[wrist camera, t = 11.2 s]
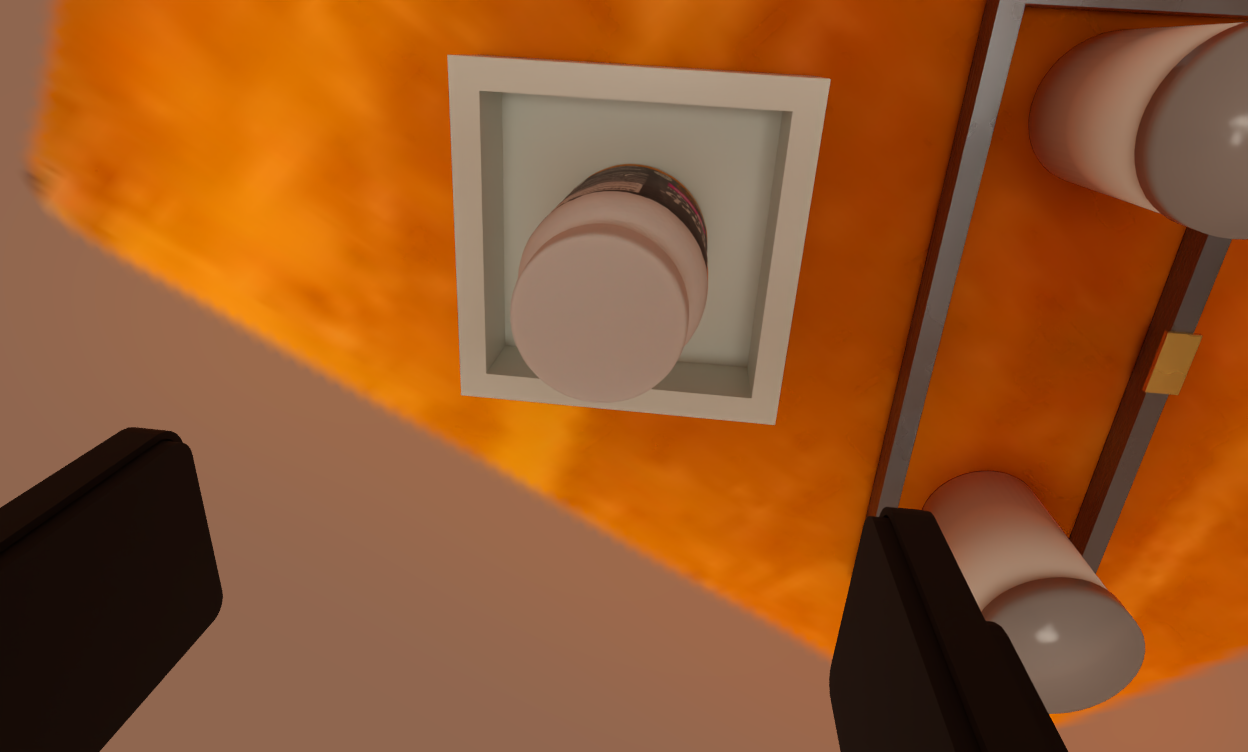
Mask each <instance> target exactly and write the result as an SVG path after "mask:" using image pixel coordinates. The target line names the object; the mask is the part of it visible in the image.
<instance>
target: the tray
mask: <svg viewBox="0 0 1248 752" xmlns="http://www.w3.org/2000/svg"><path fill="white" fill-rule="evenodd" d="M448 79H449V104H450V129H451V153H452V178H453V203H454V227H455V252H456V277H457V301H458V326H459V351H460V375H461V395H466V396H476V397H487V398H497V399H508V400H518V401H529V402H539V403H550V404H560V405H571V406H581V407H592V408H602V409H613V410H623V411H634V412H644V413H655V414H665V415H676V416H686V417H697V418H707V419H718V420H728V421H738V422H749V423H759V424H770V425H775V422H776V416H777V410H778V404H779V397H780V391H781V385H782V379H783V372H784V366H785V360H786V354H787V348H788V341H789V335H790V329H791V323H792V317H793V310H794V304H795V298H796V292H797V286H798V279H799V273H800V267H801V261H802V254H803V248H804V242H805V236H806V230H807V223H808V217H809V211H810V205H811V199H812V192H813V186H814V180H815V174H816V167H817V161H818V155H819V149H820V143H821V136H822V130H823V124H824V118H825V112H826V105H827V99H828V93H829V87H830V81H831V79H828V78H823V77H817V76H807V75H791V74H775V73H760V72H744V71H728V70H712V69H696V68H680V67H664V66H648V65H632V64H617V63H601V62H585V61H569V60H553V59H537V58H521V57H505V56H489V55H448ZM620 164H643V165H647V166H652V167H655V168H658V169H660V170H662V171H665V172H667V173H668V174H670V175H672V176H673V177H674V178H676V179H677V180H679V181H680V182H681V183H682V184H683V185H684V186H685V187H686V188H687V189H688V190H689V191H690V192H691V194H692V195H693V197H694V198H695V200H696V201H697V203H698V205H699V207H700V209H701V211H702V214H703V217H704V221H705V225H706V230H707V256H708V292H707V300H706V305H705V309H704V312H703V315H702V318H701V321H700V323H699V325H698V327H697V329H696V331H695V333H694V334H693V336H692V337H691V339H690V340H689V341H688V343H687V344H686V345H685V346H684V348H683V350H682V353H681V355H680V357H679V359H678V361H677V362H676V364H675V366H674V367H673V368H672V370H671V371H670V372H669V374H668V375H667V376H666V377H665V378H664V379H663V380H662V381H661V382H659V383H658V384H657V385H656V386H654V387H653V388H652V389H650V390H649V391H647V392H645V393H643V394H641V395H639V396H637V397H634V398H631V399H628V400H624V401H619V402H612V403H594V402H586V401H581V400H577V399H574V398H571V397H568V396H566V395H564V394H561V393H560V392H558V391H556V390H554V389H553V388H551V387H550V386H548V385H547V384H545V383H544V382H543V381H542V380H541V379H540V378H539V377H537V376H536V375H535V374H534V372H533V371H532V370H531V369H530V368H529V367H528V365H527V364H526V362H525V361H524V360H523V358H522V356H521V354H520V352H519V350H518V348H517V346H516V344H515V341H514V338H513V334H512V329H511V320H510V307H511V299H512V295H513V290H514V288H515V285H516V282H517V280H518V272H519V265H520V261H521V258H522V254H523V251H524V249H525V246H526V244H527V242H528V240H529V238H530V236H531V235H532V233H533V232H534V231H535V229H536V228H537V227H538V226H539V224H540V223H541V222H542V221H543V220H544V219H545V218H546V217H547V216H548V215H549V214H550V213H551V211H552V210H554V209H555V208H556V207H557V206H558V204H559V203H561V202H562V201H563V200H564V199H565V198H566V196H568V195H569V194H570V193H571V191H572V190H573V189H574V188H575V187H576V186H578V185H579V184H580V183H581V182H582V181H584V180H585V179H587V178H588V177H589V176H591V175H593V174H594V173H596V172H598V171H600V170H603V169H605V168H608V167H611V166H615V165H620Z"/></svg>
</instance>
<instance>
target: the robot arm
mask: <svg viewBox="0 0 1248 752" xmlns="http://www.w3.org/2000/svg"><path fill="white" fill-rule="evenodd" d="M222 599H223V594H222V588H221V583H220V579H219V574H218V570H217V565H216V560H215V556H214V551H213V546H212V542H211V538H210V533H209V528H208V524H207V519H206V515H205V510H204V506H203V501H202V496H201V492H200V487H199V483H198V478H197V473H196V469H195V464H194V460H193V455H192V452H191V450H190V448H189V446H188V445H186V444H184V443H183V442H182V440H181V438H180V437H179V436H178V435H177V434H176V433H174V432H172V431H165V430H155V429H146V428H136V427H131V428H127V429H124V430H121V431H120V432H118V433H117V434H115V435H114V436H112V437H110V438H109V439H107V440H106V441H104V442H103V443H101V444H99V445H98V446H96V447H95V448H93V449H92V450H90V451H88V452H87V453H85V454H84V455H82V456H81V457H79V458H78V459H76V460H74V461H73V462H71V463H70V464H68V465H67V466H65V467H64V468H62V469H60V470H59V471H57V472H56V473H54V474H53V475H51V476H49V477H48V478H46V479H45V480H43V481H42V482H40V483H38V484H37V485H35V486H34V487H32V488H31V489H29V490H28V491H26V492H24V493H23V494H21V495H20V496H18V497H17V498H15V499H13V500H12V501H10V502H9V503H7V504H6V505H4V506H2V507H1V508H0V752H100V750H101V749H102V748H103V747H104V746H105V745H106V743H107V742H108V741H109V740H110V739H111V738H112V737H113V735H114V734H115V733H116V732H117V731H118V730H119V729H120V727H121V726H122V725H123V724H124V723H125V722H126V720H127V719H128V718H129V717H130V716H131V715H132V714H133V713H134V711H135V710H136V709H137V708H138V707H139V706H140V705H141V703H142V702H143V701H144V700H145V699H146V698H147V697H148V695H149V694H150V693H151V692H152V691H153V690H154V688H155V687H156V686H157V685H158V684H159V683H160V682H161V681H162V679H163V678H164V677H165V676H166V675H167V673H169V671H170V670H171V669H172V668H173V667H174V666H175V664H176V663H177V662H178V661H179V660H180V659H181V658H182V657H183V655H184V654H185V653H186V652H187V651H188V650H189V649H190V647H191V646H192V645H193V644H194V643H195V642H196V641H197V639H198V638H199V637H200V636H201V635H202V634H203V633H204V631H205V630H206V629H207V628H208V627H209V626H210V625H211V623H212V622H213V621H214V620H215V618H216V617H217V615H218V613H219V611H220V608H221V605H222ZM829 681H830V682H829V683H830V684H829V687H830V698H831V703H832V709H833V714H834V719H835V724H836V729H837V735H838V740H839V745H840V751H841V752H1068V750H1067V748H1066V747H1065V745H1064V743H1063V741H1062V739H1061V737H1060V735H1059V733H1058V731H1057V729H1056V727H1055V725H1054V723H1053V721H1052V719H1051V718H1050V716H1049V714H1048V712H1047V710H1046V708H1045V706H1044V704H1043V702H1042V700H1041V698H1040V696H1039V694H1038V692H1037V690H1036V689H1035V687H1034V685H1033V683H1032V681H1031V679H1030V677H1029V675H1028V673H1027V671H1026V669H1025V667H1024V665H1023V663H1022V661H1021V660H1020V658H1019V656H1018V654H1017V652H1016V650H1015V648H1014V646H1013V644H1012V642H1011V640H1010V638H1009V636H1008V635H1007V633H1006V632H1005V631H1004V629H1003V628H1002V626H1000V625H999V624H997V623H995V622H992V621H986V620H985V618H984V616H983V614H982V612H981V610H980V608H979V606H978V604H977V602H976V600H975V598H974V596H973V594H972V592H971V590H970V588H969V586H968V584H967V582H966V580H965V578H964V576H963V574H962V572H961V570H960V568H959V565H958V563H957V561H956V559H955V557H954V555H953V553H952V551H951V549H950V547H949V545H948V543H947V541H946V539H945V537H944V535H943V533H942V531H941V529H940V527H939V525H938V523H937V521H936V519H935V517H934V515H933V514H932V513H931V512H929V511H924V510H914V509H905V508H895V507H885V508H883V509H882V511H881V513H880V516H879V517H875V516H868V517H867V518H866V520H865V523H864V526H863V530H862V535H861V539H860V543H859V548H858V552H857V556H856V560H855V565H854V569H853V573H852V578H851V582H850V586H849V591H848V595H847V599H846V603H845V608H844V612H843V616H842V621H841V625H840V629H839V634H838V638H837V642H836V646H835V651H834V655H833V659H832V664H831V669H830V678H829Z"/></svg>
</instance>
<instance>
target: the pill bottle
mask: <svg viewBox="0 0 1248 752" xmlns="http://www.w3.org/2000/svg"><path fill="white" fill-rule="evenodd" d="M707 292H708V256H707V230H706V225H705V221H704V217H703V214H702V211H701V209H700V207H699V205H698V203H697V201H696V200H695V198H694V197H693V195H692V194H691V192H690V191H689V190H688V189H687V188H686V187H685V186H684V185H683V184H682V183H681V182H680V181H679V180H677V179H676V178H674V177H673V176H672V175H670V174H668V173H667V172H665V171H662V170H660V169H658V168H655V167H652V166H647V165H643V164H620V165H615V166H611V167H608V168H605V169H603V170H600V171H598V172H596V173H594V174H593V175H591V176H589V177H588V178H587V179H585V180H584V181H582V182H581V183H580V184H579V185H578V186H576V187H575V188H574V189H573V190H572V191H571V193H570V194H569V195H568V196H566V198H565V199H564V200H563V201H562V202H561V203H559V204H558V206H557V207H556V208H555V209H554V210H552V211H551V213H550V214H549V215H548V216H547V217H546V218H545V219H544V220H543V221H542V222H541V223H540V224H539V226H538V227H537V228H536V229H535V231H534V232H533V233H532V235H531V236H530V238H529V240H528V242H527V244H526V246H525V249H524V251H523V254H522V258H521V261H520V265H519V272H518V280H517V282H516V285H515V288H514V290H513V295H512V299H511V307H510V320H511V329H512V334H513V338H514V341H515V344H516V346H517V348H518V350H519V352H520V354H521V356H522V358H523V360H524V361H525V362H526V364H527V365H528V367H529V368H530V369H531V370H532V371H533V372H534V374H535V375H536V376H537V377H539V378H540V379H541V380H542V381H543V382H544V383H545V384H547V385H548V386H550V387H551V388H553V389H554V390H556V391H558V392H560V393H561V394H564V395H566V396H568V397H571V398H574V399H577V400H581V401H586V402H594V403H612V402H619V401H624V400H628V399H631V398H634V397H637V396H639V395H641V394H643V393H645V392H647V391H649V390H650V389H652V388H653V387H654V386H656V385H657V384H658V383H659V382H661V381H662V380H663V379H664V378H665V377H666V376H667V375H668V374H669V372H670V371H671V370H672V368H673V367H674V366H675V364H676V362H677V361H678V359H679V357H680V355H681V353H682V350H683V348H684V346H685V345H686V344H687V343H688V341H689V340H690V339H691V337H692V336H693V334H694V333H695V331H696V329H697V327H698V325H699V323H700V321H701V318H702V315H703V312H704V309H705V305H706V300H707Z"/></svg>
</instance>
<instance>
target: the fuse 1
mask: <svg viewBox="0 0 1248 752" xmlns="http://www.w3.org/2000/svg"><path fill="white" fill-rule="evenodd" d="M1029 136H1030V141H1031V145H1032V148H1033V150H1034V153H1035V155H1036V156H1037V158H1038V160H1039V161H1040V162H1041V164H1042V165H1043V166H1044V167H1045V168H1046V169H1047V170H1048V171H1049V172H1051V173H1052V174H1054V175H1055V176H1057V177H1059V178H1061V179H1063V180H1065V181H1068V182H1071V183H1074V184H1077V185H1080V186H1082V187H1085V188H1088V189H1091V190H1094V191H1097V192H1100V193H1103V194H1106V195H1108V196H1111V197H1114V198H1117V199H1120V200H1123V201H1126V202H1129V203H1132V204H1134V205H1137V206H1140V207H1143V208H1146V209H1149V210H1152V211H1155V212H1158V213H1160V214H1162V215H1164V216H1165V217H1167V218H1168V219H1170V220H1171V221H1174V222H1176V223H1178V224H1180V225H1183V226H1185V227H1188V228H1191V229H1194V230H1197V231H1199V232H1202V233H1205V234H1209V235H1212V236H1216V237H1221V238H1228V239H1248V21H1247V22H1243V23H1227V24H1210V25H1193V26H1176V27H1160V28H1143V29H1126V30H1116V31H1110V32H1106V33H1103V34H1099V35H1097V36H1094V37H1092V38H1089V39H1087V40H1085V41H1084V42H1082V43H1080V44H1078V45H1077V46H1075V47H1074V48H1072V49H1071V50H1069V51H1068V52H1067V53H1066V54H1065V55H1064V56H1062V57H1061V58H1060V59H1059V60H1058V61H1057V62H1056V63H1055V64H1054V65H1053V67H1052V68H1051V69H1050V70H1049V72H1048V73H1047V74H1046V76H1045V77H1044V79H1043V80H1042V82H1041V84H1040V85H1039V87H1038V90H1037V92H1036V94H1035V96H1034V99H1033V102H1032V105H1031V110H1030V115H1029Z"/></svg>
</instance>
